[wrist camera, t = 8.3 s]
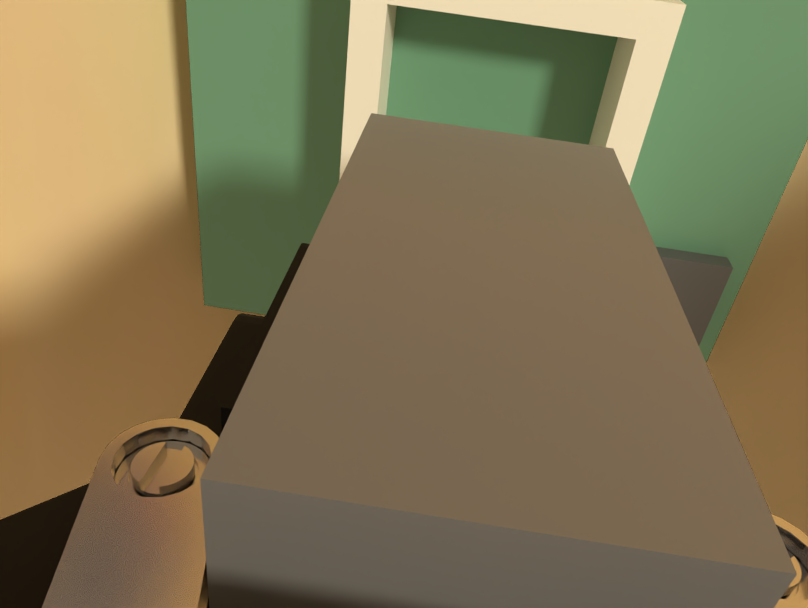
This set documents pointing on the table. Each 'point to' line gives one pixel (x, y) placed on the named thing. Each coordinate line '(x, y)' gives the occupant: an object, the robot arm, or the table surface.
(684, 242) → the circuit board
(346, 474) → the plug
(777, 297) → the table surface
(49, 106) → the table surface
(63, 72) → the table surface
